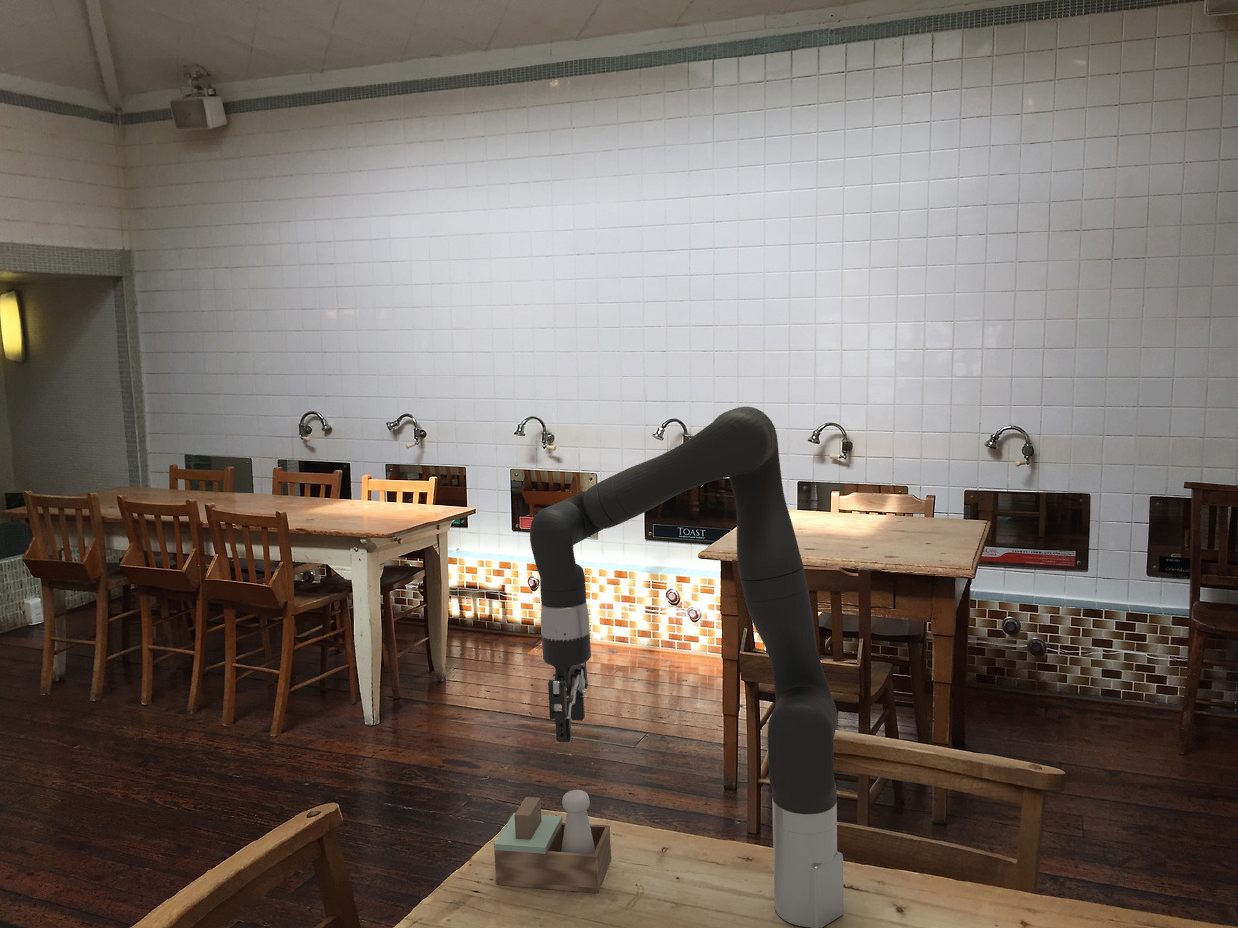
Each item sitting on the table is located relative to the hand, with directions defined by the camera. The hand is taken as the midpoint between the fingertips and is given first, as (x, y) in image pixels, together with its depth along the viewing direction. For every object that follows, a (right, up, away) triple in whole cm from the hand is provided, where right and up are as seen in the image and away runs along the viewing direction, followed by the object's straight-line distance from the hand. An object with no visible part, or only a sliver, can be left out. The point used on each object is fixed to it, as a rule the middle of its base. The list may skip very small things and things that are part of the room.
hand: (571, 729), depth 148 cm
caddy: (-3, -24, +4) cm, 25 cm away
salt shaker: (+1, -23, +2) cm, 24 cm away
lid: (-7, -18, +4) cm, 20 cm away
